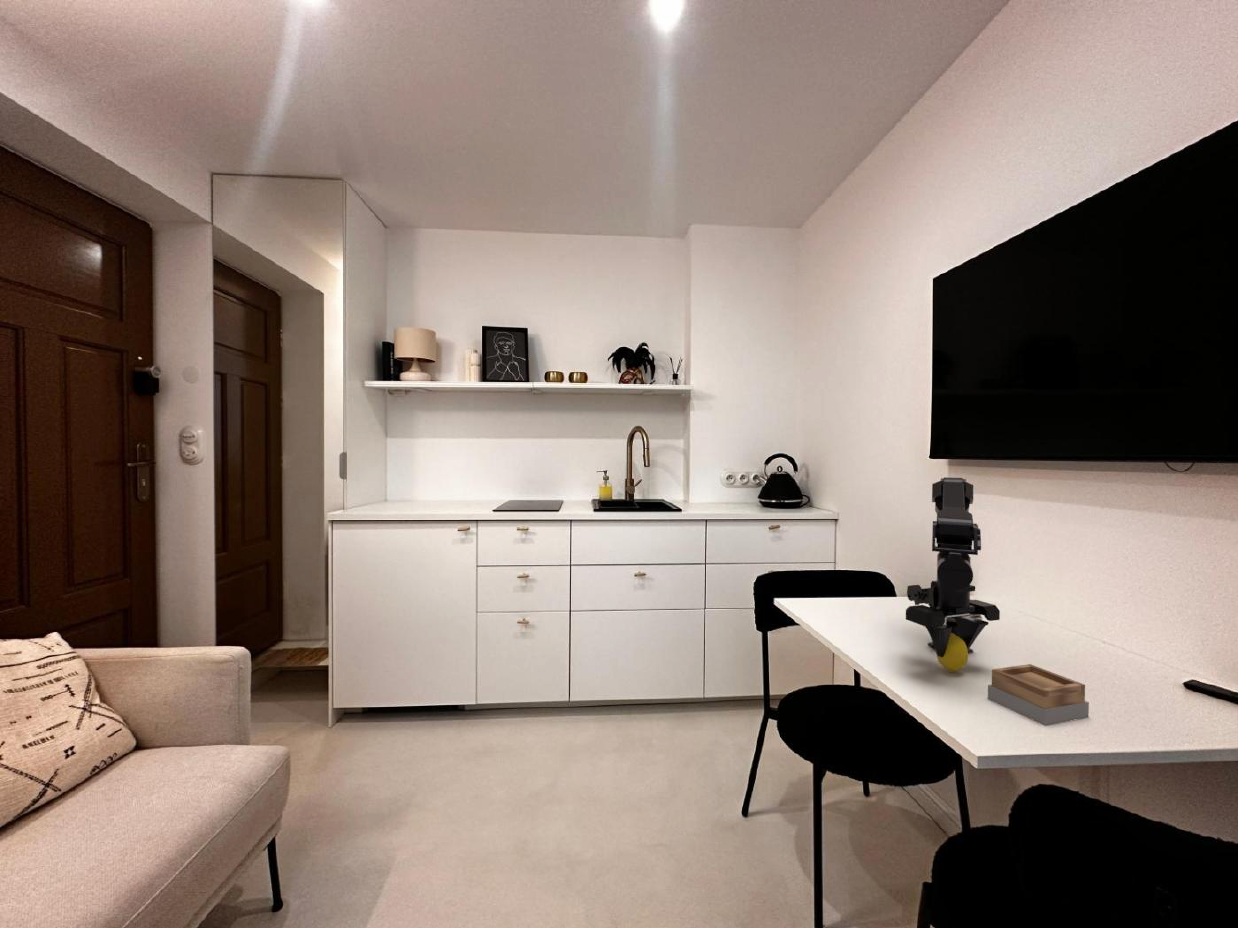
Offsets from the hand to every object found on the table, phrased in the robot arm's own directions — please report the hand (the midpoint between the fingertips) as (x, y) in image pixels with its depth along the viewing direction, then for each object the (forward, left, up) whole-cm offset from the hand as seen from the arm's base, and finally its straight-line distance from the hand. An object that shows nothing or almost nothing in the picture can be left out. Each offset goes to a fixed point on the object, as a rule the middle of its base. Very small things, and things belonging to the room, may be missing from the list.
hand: (951, 654), depth 109 cm
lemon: (0, 0, -4) cm, 4 cm away
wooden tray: (-1, +16, -1) cm, 16 cm away
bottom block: (-1, +16, -4) cm, 17 cm away
